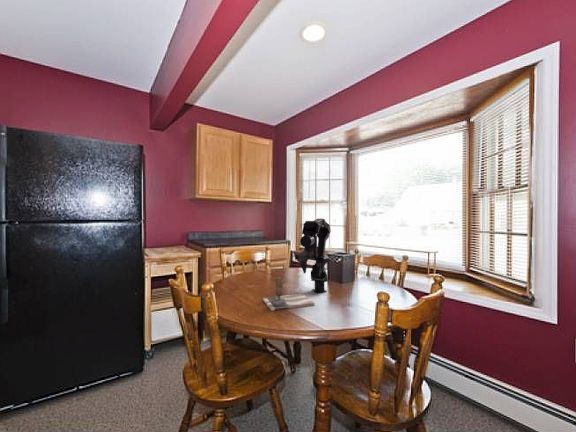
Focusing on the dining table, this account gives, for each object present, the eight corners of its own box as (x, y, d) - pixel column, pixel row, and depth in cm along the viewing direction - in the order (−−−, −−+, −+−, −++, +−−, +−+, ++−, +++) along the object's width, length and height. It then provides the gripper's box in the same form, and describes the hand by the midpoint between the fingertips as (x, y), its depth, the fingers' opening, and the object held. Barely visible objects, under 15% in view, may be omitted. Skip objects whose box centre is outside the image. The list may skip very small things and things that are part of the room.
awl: (273, 301, 139) (273, 276, 139) (285, 301, 139) (284, 276, 139) (272, 305, 134) (272, 279, 133) (284, 305, 134) (284, 279, 133)
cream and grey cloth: (263, 300, 146) (263, 297, 146) (302, 295, 153) (302, 293, 153) (271, 310, 131) (271, 308, 130) (314, 305, 138) (314, 302, 138)
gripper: (287, 244, 146) (288, 274, 147) (317, 248, 134) (317, 280, 134) (301, 242, 155) (301, 271, 155) (330, 245, 142) (330, 276, 143)
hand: (311, 274), depth 147 cm, fingers open, 9 cm apart
